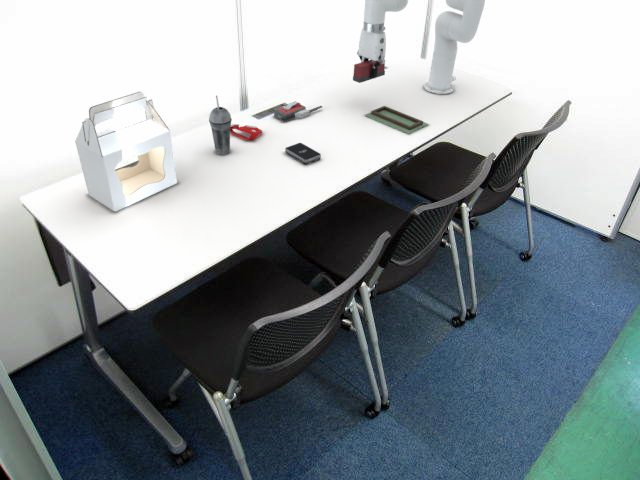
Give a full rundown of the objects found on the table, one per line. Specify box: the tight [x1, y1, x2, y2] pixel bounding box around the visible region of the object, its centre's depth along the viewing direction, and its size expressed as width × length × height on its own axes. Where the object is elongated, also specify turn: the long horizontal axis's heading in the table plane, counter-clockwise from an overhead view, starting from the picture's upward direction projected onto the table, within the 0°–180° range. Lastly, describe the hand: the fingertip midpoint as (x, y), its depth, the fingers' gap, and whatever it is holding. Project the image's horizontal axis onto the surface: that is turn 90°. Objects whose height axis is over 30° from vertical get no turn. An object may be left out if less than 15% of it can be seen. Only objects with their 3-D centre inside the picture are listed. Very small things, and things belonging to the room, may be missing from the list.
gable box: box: [74, 91, 178, 213], centre depth 153 cm, size 22×13×28 cm, turn 140°
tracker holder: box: [230, 123, 263, 141], centre depth 191 cm, size 12×4×10 cm
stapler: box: [352, 59, 386, 84], centre depth 207 cm, size 14×4×6 cm, turn 132°
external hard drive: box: [284, 142, 322, 165], centre depth 181 cm, size 7×11×2 cm, turn 42°
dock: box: [365, 105, 429, 135], centre depth 207 cm, size 12×21×2 cm, turn 45°
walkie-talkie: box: [273, 100, 323, 122], centre depth 207 cm, size 9×4×20 cm
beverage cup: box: [208, 95, 233, 156], centre depth 176 cm, size 7×7×20 cm
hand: (369, 75), depth 208 cm, fingers closed on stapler, 3 cm apart
